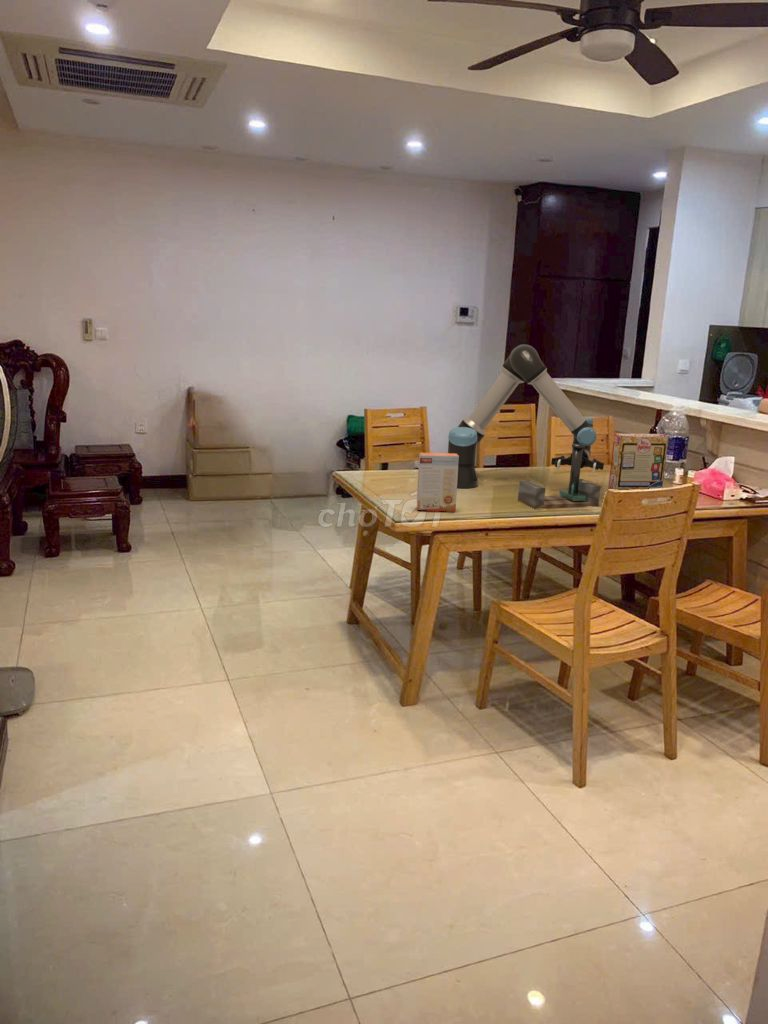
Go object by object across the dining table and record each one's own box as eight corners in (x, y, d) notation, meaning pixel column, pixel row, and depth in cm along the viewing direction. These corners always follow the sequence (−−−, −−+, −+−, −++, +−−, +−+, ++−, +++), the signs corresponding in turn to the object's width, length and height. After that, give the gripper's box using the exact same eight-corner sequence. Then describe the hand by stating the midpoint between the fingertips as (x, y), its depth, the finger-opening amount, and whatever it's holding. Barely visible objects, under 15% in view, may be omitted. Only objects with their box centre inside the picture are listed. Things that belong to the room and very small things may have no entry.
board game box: (653, 499, 309) (662, 433, 302) (661, 503, 303) (670, 436, 296) (606, 498, 306) (614, 432, 299) (612, 502, 300) (621, 435, 293)
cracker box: (453, 508, 281) (457, 452, 275) (455, 512, 275) (459, 455, 269) (415, 507, 280) (419, 451, 275) (417, 511, 274) (420, 454, 269)
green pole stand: (572, 501, 291) (578, 447, 286) (559, 494, 300) (564, 442, 295) (586, 500, 293) (592, 446, 288) (572, 494, 302) (578, 442, 297)
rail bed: (534, 509, 285) (536, 487, 283) (517, 500, 297) (519, 479, 295) (598, 506, 294) (600, 485, 291) (580, 498, 306) (582, 477, 303)
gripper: (609, 470, 311) (608, 480, 291) (547, 464, 318) (542, 473, 298) (611, 452, 309) (610, 461, 289) (549, 446, 316) (544, 454, 296)
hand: (575, 467), depth 294 cm, fingers open, 13 cm apart
